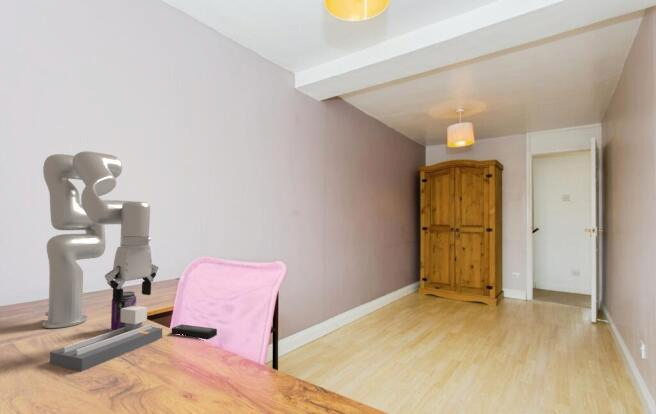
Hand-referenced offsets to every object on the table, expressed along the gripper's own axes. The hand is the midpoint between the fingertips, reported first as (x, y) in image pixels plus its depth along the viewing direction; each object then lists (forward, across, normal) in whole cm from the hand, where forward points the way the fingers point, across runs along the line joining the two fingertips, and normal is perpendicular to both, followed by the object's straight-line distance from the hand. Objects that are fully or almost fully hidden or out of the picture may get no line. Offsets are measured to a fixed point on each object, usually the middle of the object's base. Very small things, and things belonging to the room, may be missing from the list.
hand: (132, 298), depth 102 cm
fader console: (+13, +7, +1) cm, 15 cm away
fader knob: (+10, 0, +1) cm, 10 cm away
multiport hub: (+13, -11, +14) cm, 22 cm away
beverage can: (+14, -7, -12) cm, 19 cm away
